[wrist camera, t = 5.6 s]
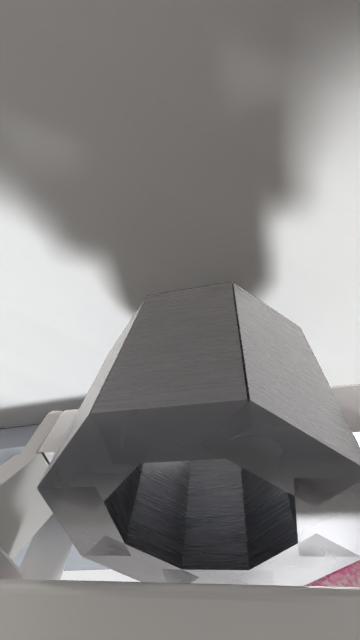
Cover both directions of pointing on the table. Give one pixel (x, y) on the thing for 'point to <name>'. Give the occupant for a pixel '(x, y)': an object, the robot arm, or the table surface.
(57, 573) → the shaft block
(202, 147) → the table surface
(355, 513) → the ring
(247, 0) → the table surface
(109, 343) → the table surface
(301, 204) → the table surface
